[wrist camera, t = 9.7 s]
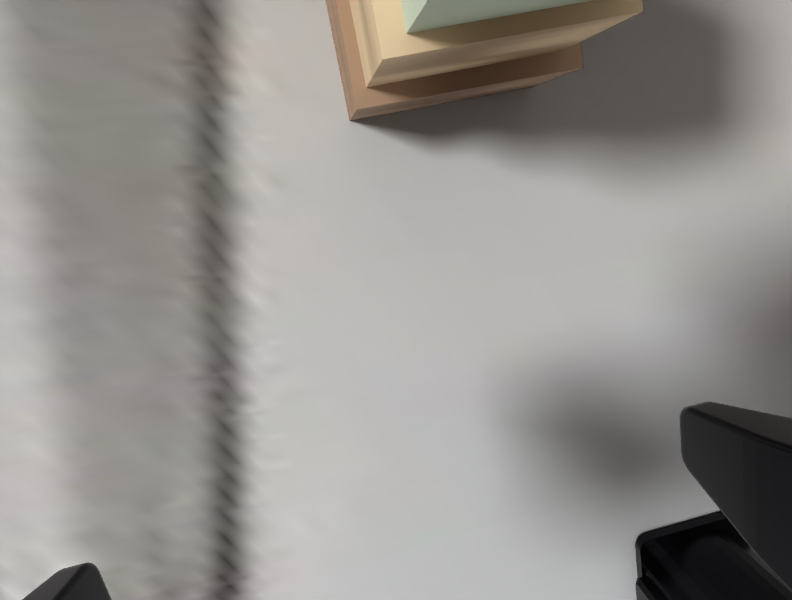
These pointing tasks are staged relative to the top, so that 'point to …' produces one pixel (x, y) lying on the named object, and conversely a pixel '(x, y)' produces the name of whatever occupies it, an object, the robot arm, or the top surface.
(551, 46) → the oak block
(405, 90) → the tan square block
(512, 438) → the top surface
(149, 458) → the top surface
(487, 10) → the sage block
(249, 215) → the top surface
